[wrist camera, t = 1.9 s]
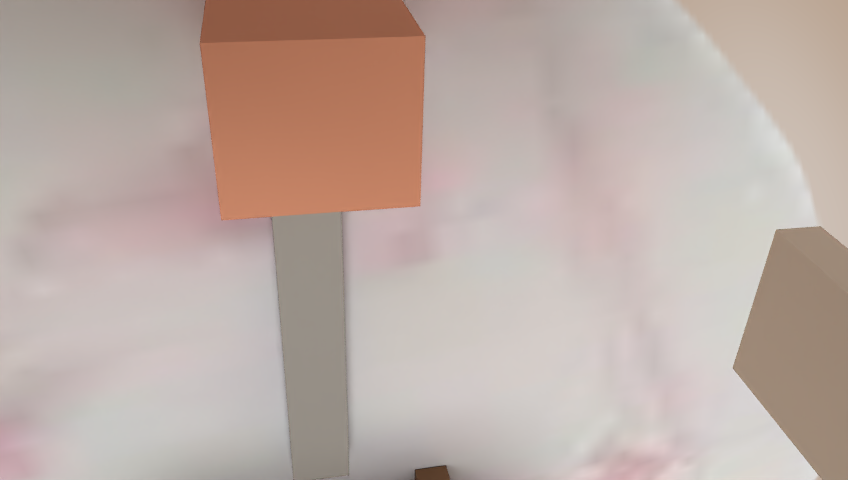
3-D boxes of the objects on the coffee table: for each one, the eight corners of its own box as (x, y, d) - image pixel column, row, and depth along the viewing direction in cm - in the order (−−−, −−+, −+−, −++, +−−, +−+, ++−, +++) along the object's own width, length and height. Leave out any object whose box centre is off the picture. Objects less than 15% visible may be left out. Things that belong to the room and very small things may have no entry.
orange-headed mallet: (213, -60, 24) (199, 43, 15) (362, -61, 25) (425, 36, 16) (267, 457, 35) (276, 676, 27) (367, 445, 36) (406, 653, 28)
